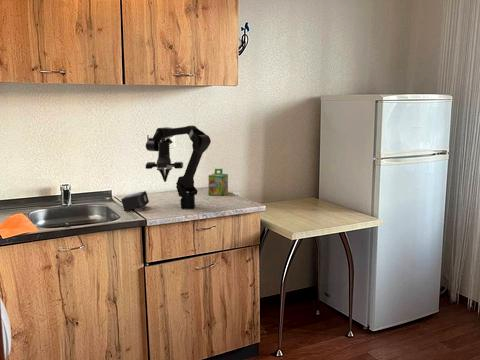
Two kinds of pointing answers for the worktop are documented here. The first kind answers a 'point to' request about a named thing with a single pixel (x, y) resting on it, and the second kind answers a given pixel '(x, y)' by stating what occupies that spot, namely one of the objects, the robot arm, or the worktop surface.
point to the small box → (135, 200)
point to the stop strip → (139, 208)
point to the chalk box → (218, 183)
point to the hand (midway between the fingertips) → (165, 181)
